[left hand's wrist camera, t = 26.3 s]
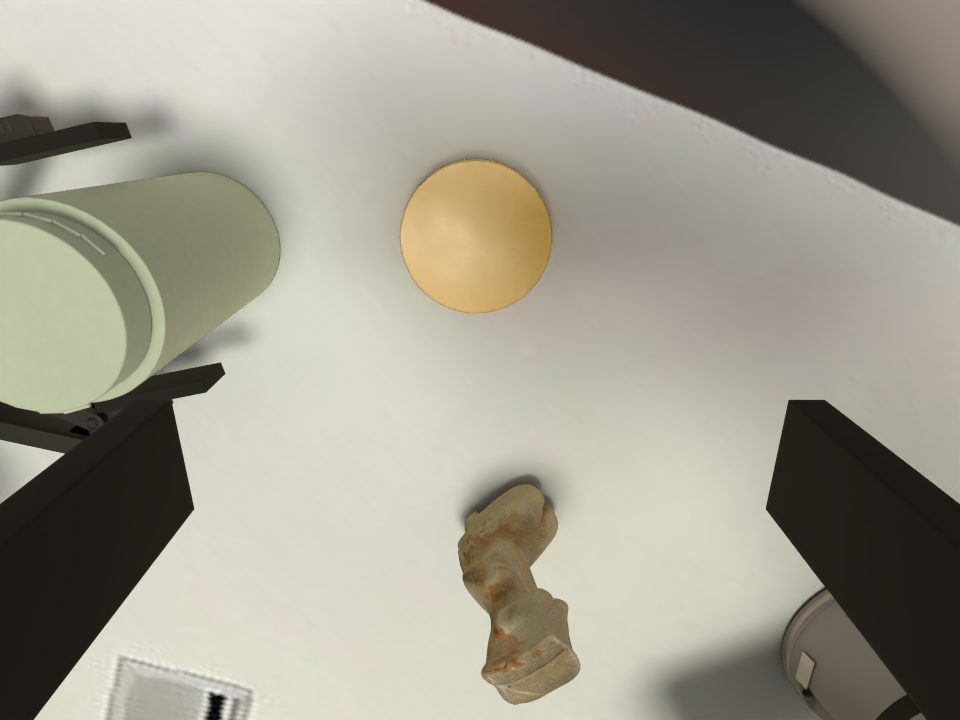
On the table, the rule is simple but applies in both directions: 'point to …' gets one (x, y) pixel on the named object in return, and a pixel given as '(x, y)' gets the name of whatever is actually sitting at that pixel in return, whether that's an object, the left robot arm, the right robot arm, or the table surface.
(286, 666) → the table surface
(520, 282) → the lid
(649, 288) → the table surface
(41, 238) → the jar
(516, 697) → the sculpture
